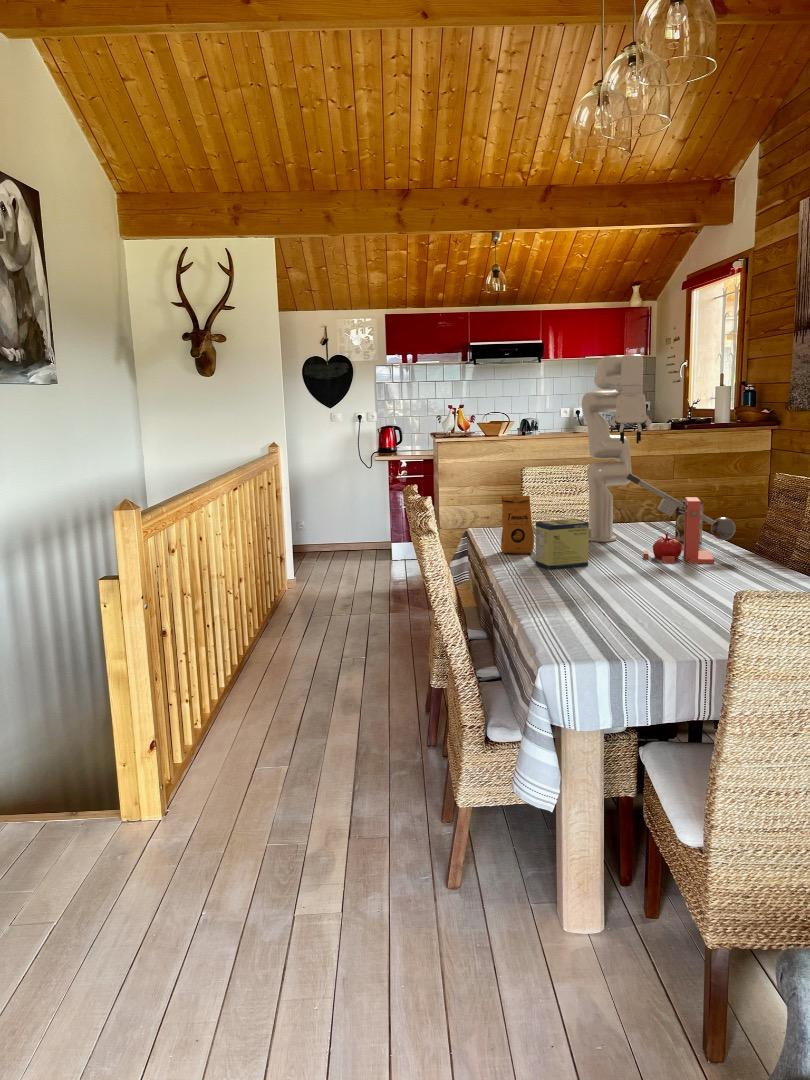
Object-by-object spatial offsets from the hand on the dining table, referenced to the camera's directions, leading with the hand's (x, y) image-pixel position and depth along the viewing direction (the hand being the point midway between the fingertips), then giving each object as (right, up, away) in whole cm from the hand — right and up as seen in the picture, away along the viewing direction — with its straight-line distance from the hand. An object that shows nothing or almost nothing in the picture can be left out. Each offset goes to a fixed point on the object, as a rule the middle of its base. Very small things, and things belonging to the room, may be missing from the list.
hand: (630, 442), depth 278 cm
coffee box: (+33, -35, +35) cm, 60 cm away
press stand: (+18, -41, +3) cm, 45 cm away
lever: (+15, -26, +1) cm, 30 cm away
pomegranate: (+14, -41, +4) cm, 44 cm away
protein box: (-25, -44, -3) cm, 50 cm away
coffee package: (-37, -40, +22) cm, 58 cm away
